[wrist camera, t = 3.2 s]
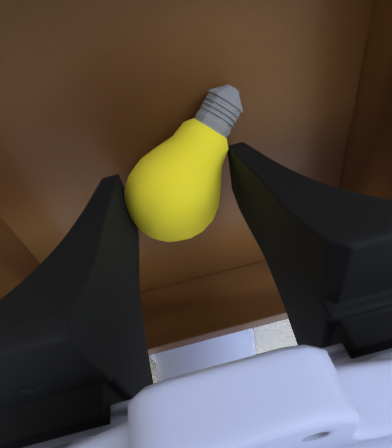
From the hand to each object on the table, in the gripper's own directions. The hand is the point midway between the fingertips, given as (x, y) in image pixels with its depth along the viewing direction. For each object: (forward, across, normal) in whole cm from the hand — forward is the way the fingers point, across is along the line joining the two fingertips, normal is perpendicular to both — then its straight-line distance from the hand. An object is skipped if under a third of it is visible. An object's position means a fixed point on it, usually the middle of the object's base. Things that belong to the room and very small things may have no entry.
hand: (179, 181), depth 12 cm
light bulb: (+1, 0, -1) cm, 2 cm away
